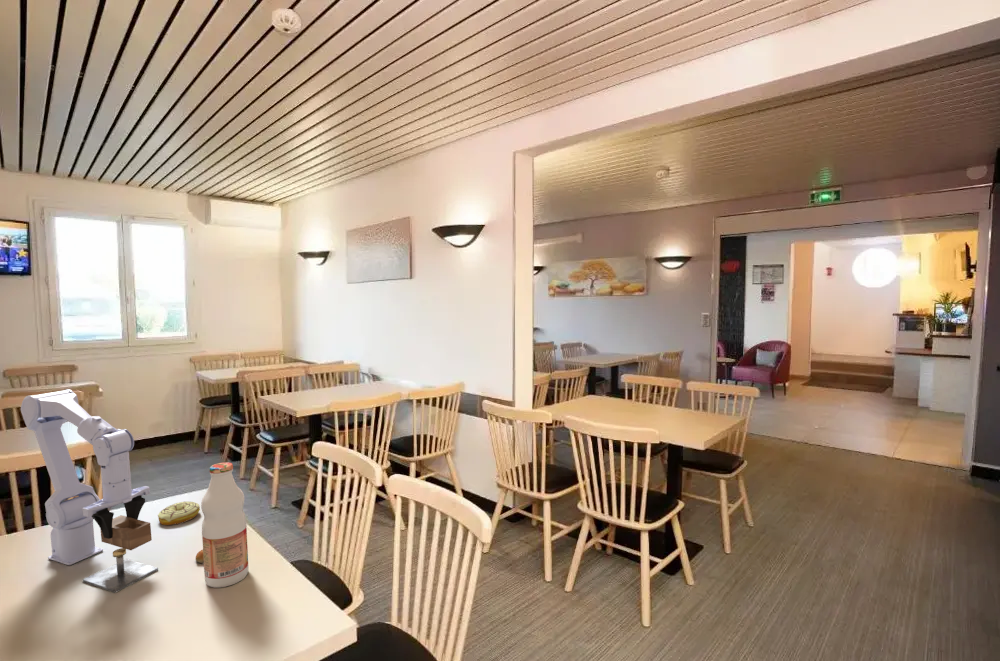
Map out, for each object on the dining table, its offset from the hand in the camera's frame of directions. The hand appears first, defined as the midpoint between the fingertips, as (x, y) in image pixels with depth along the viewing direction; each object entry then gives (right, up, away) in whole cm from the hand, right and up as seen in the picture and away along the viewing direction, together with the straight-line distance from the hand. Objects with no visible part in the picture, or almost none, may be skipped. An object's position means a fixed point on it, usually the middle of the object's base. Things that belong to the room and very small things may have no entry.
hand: (120, 532), depth 126 cm
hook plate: (+2, -10, -3) cm, 10 cm away
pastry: (+21, -9, +6) cm, 24 cm away
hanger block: (+2, -2, -1) cm, 3 cm away
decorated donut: (-3, -7, +28) cm, 30 cm away
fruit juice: (+29, -10, -4) cm, 31 cm away
